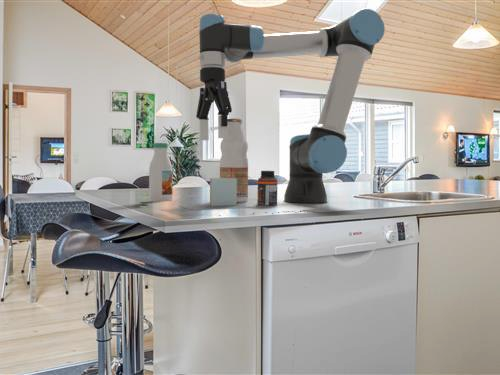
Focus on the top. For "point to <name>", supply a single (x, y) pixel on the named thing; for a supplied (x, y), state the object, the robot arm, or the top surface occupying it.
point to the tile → (223, 191)
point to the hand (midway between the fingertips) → (213, 139)
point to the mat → (213, 207)
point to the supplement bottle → (267, 189)
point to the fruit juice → (235, 158)
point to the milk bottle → (160, 175)
